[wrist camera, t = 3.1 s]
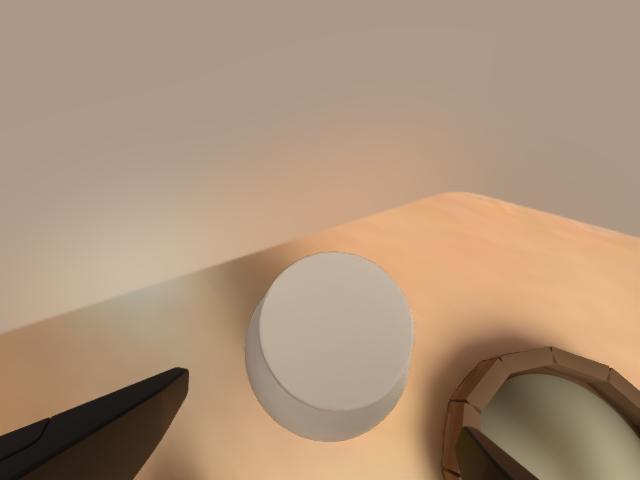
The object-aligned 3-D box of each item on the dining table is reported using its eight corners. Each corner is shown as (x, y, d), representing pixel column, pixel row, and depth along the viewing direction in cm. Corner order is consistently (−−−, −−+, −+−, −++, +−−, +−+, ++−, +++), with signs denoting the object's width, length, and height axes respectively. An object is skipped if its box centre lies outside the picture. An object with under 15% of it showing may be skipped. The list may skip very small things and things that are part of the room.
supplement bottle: (385, 392, 19) (500, 381, 8) (293, 447, 18) (274, 527, 6) (338, 302, 22) (375, 200, 11) (254, 342, 20) (194, 270, 9)
